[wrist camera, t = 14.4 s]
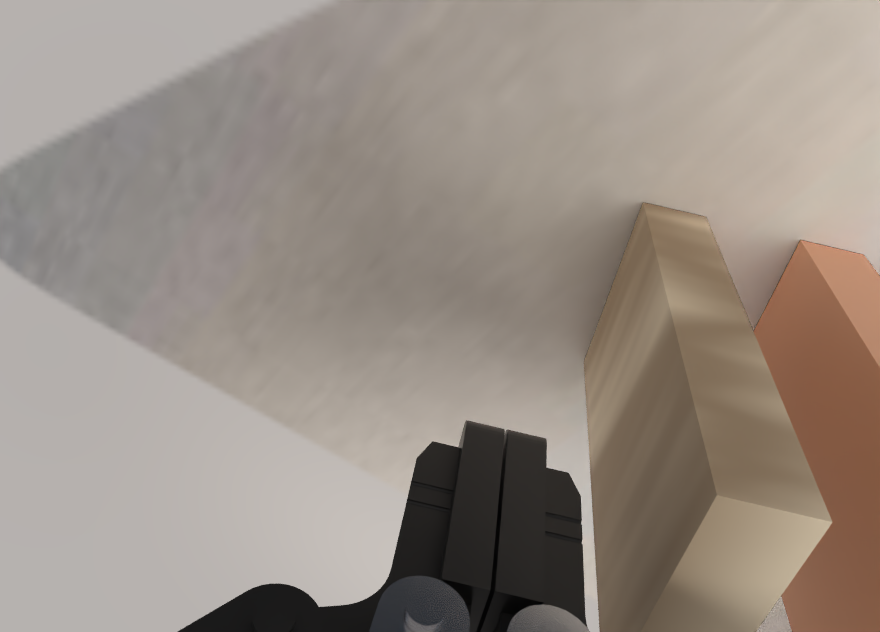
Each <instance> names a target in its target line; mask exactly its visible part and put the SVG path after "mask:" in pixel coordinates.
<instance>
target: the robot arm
mask: <svg viewBox="0 0 880 632" xmlns="http://www.w3.org/2000/svg"><path fill="white" fill-rule="evenodd" d="M504 434H505V435H504ZM546 450H547V443H546V439H545V438H541V437H537V436H532V435H528V434H524V433H519V432H515V431H511V430H507V431H506V432H505V431H504V429H502V428H497V427H493V426H489V425H484V424H480V423H476V422H471V421H467V420H466V422H465V425H464V428H463V432H462V436H461V440H460V443H459V447H454V446H450V445H446V444H441V443H437V442H432V443H431V444H430V445H429V446H428V447H427V448H426V449H425V450H424V451H423V452H422V453H421V454H420V456H419V457H418V458H417V460H416V464H415V468H414V473H413V477H412V481H411V486H410V490H409V494H408V499H407V503H406V508H405V512H404V516H403V520H402V525H401V529H400V533H399V537H398V542H397V547H396V550H395V555H394V559H393V564H392V568H391V571H390V574H389V577H388V579H387V580H386V582H385V584H384V585H383V586H382V587H381V589H379V590H378V591H377V592H376V593H375V594H373V595H372V596H370V597H369V598H367V599H365V600H363V601H360V602H357V603H354V604H349V605H341V606H330V607H329V606H328V607H318V605H317V604H316V602H315V601H314V600H313V599H312V598H311V597H310V596H309V595H308V594H307V593H305V592H304V591H302V590H300V589H298V588H296V587H293V586H290V585H285V584H266V585H261V586H258V587H255V588H252V589H250V590H248V591H246V592H245V593H243V594H241V595H239V596H238V597H236V598H235V599H233V600H231V601H229V602H227V603H226V604H224V605H222V606H221V607H219V608H217V609H215V610H214V611H212V612H210V613H209V614H207V615H205V616H204V617H202V618H200V619H198V620H197V621H195V622H193V623H192V624H190V625H188V626H186V627H185V628H183V629H181V630H180V631H178V632H590V631H589V630H588V628H587V624H586V618H585V598H584V571H583V545H582V525H581V520H582V518H581V496H580V494H579V492H578V490H577V488H576V486H575V484H574V482H573V480H572V478H571V477H570V475H569V473H567V472H562V471H558V470H554V469H549V468H546Z"/></svg>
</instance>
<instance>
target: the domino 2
mask: <svg viewBox="0 0 880 632" xmlns="http://www.w3.org/2000/svg"><path fill="white" fill-rule="evenodd" d="M754 334H755V336H756V339H757V341H758V344H759V346H760V348H761V351H762V353H763V356H764V358H765V360H766V363H767V365H768V368H769V370H770V373H771V375H772V377H773V380H774V382H775V385H776V387H777V389H778V392H779V394H780V397H781V399H782V401H783V404H784V406H785V409H786V411H787V414H788V416H789V418H790V421H791V423H792V426H793V428H794V430H795V433H796V435H797V438H798V440H799V443H800V445H801V447H802V450H803V452H804V455H805V457H806V459H807V462H808V464H809V467H810V469H811V471H812V474H813V476H814V479H815V481H816V484H817V486H818V488H819V491H820V493H821V496H822V498H823V500H824V503H825V505H826V508H827V510H828V513H829V515H830V517H831V520H832V524H831V525H830V527H829V528H828V530H827V531H826V532H825V534H824V535H823V537H822V538H821V540H820V541H819V542H818V544H817V545H816V547H815V548H814V549H813V551H812V552H811V554H810V555H809V557H808V558H807V559H806V561H805V562H804V564H803V565H802V567H801V568H800V569H799V571H798V572H797V574H796V575H795V577H794V578H793V579H792V581H791V582H790V584H789V585H788V587H787V588H786V589H785V591H784V592H783V594H782V595H781V596H782V599H783V603H784V606H785V609H786V613H787V616H788V619H789V623H790V626H791V629H792V632H880V276H879V274H878V273H877V272H876V270H875V269H874V268H873V266H872V265H871V264H870V263H869V261H868V260H867V259H866V257H865V256H864V255H862V254H858V253H854V252H850V251H845V250H841V249H837V248H833V247H828V246H824V245H820V244H816V243H811V242H807V241H803V240H800V242H799V244H798V246H797V248H796V250H795V251H794V253H793V255H792V257H791V259H790V261H789V263H788V265H787V267H786V269H785V271H784V273H783V275H782V277H781V279H780V281H779V283H778V285H777V287H776V288H775V290H774V292H773V294H772V296H771V298H770V300H769V302H768V304H767V306H766V308H765V310H764V312H763V314H762V316H761V318H760V320H759V322H758V324H757V326H756V327H755V329H754Z"/></svg>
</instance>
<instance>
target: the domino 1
mask: <svg viewBox="0 0 880 632" xmlns="http://www.w3.org/2000/svg"><path fill="white" fill-rule="evenodd" d="M584 372H585V389H586V406H587V423H588V440H589V457H590V474H591V491H592V508H593V525H594V542H595V559H596V576H597V593H598V610H599V627H600V632H756V631H757V629H758V628H759V626H760V625H761V624H762V622H763V621H764V619H765V618H766V617H767V615H768V614H769V612H770V611H771V609H772V608H773V607H774V605H775V604H776V602H777V601H778V599H779V598H780V597H781V595H782V594H783V592H784V591H785V589H786V588H787V587H788V585H789V584H790V582H791V581H792V579H793V578H794V577H795V575H796V574H797V572H798V571H799V569H800V568H801V567H802V565H803V564H804V562H805V561H806V559H807V558H808V557H809V555H810V554H811V552H812V551H813V549H814V548H815V547H816V545H817V544H818V542H819V541H820V540H821V538H822V537H823V535H824V534H825V532H826V531H827V530H828V528H829V527H830V525H831V524H832V520H831V517H830V515H829V513H828V510H827V508H826V505H825V503H824V500H823V498H822V496H821V493H820V491H819V488H818V486H817V484H816V481H815V479H814V476H813V474H812V471H811V469H810V467H809V464H808V462H807V459H806V457H805V455H804V452H803V450H802V447H801V445H800V443H799V440H798V438H797V435H796V433H795V430H794V428H793V426H792V423H791V421H790V418H789V416H788V414H787V411H786V409H785V406H784V404H783V401H782V399H781V397H780V394H779V392H778V389H777V387H776V385H775V382H774V380H773V377H772V375H771V373H770V370H769V368H768V365H767V363H766V360H765V358H764V356H763V353H762V351H761V348H760V346H759V344H758V341H757V339H756V336H755V334H754V331H753V329H752V327H751V324H750V322H749V319H748V317H747V315H746V312H745V310H744V307H743V305H742V302H741V300H740V298H739V295H738V293H737V290H736V288H735V286H734V283H733V281H732V278H731V276H730V274H729V271H728V269H727V266H726V264H725V261H724V259H723V257H722V254H721V252H720V249H719V247H718V245H717V242H716V240H715V237H714V235H713V232H712V230H711V228H710V225H709V223H708V220H707V218H706V217H704V216H699V215H695V214H691V213H687V212H682V211H678V210H674V209H669V208H665V207H661V206H657V205H652V204H648V203H644V202H643V204H642V207H641V209H640V212H639V215H638V217H637V220H636V223H635V225H634V228H633V231H632V233H631V236H630V239H629V242H628V244H627V247H626V250H625V252H624V255H623V258H622V260H621V263H620V266H619V268H618V271H617V274H616V277H615V279H614V282H613V285H612V287H611V290H610V293H609V295H608V298H607V301H606V303H605V306H604V309H603V311H602V314H601V317H600V320H599V322H598V325H597V328H596V330H595V333H594V336H593V338H592V341H591V344H590V346H589V349H588V352H587V355H586V357H585V360H584Z"/></svg>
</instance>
